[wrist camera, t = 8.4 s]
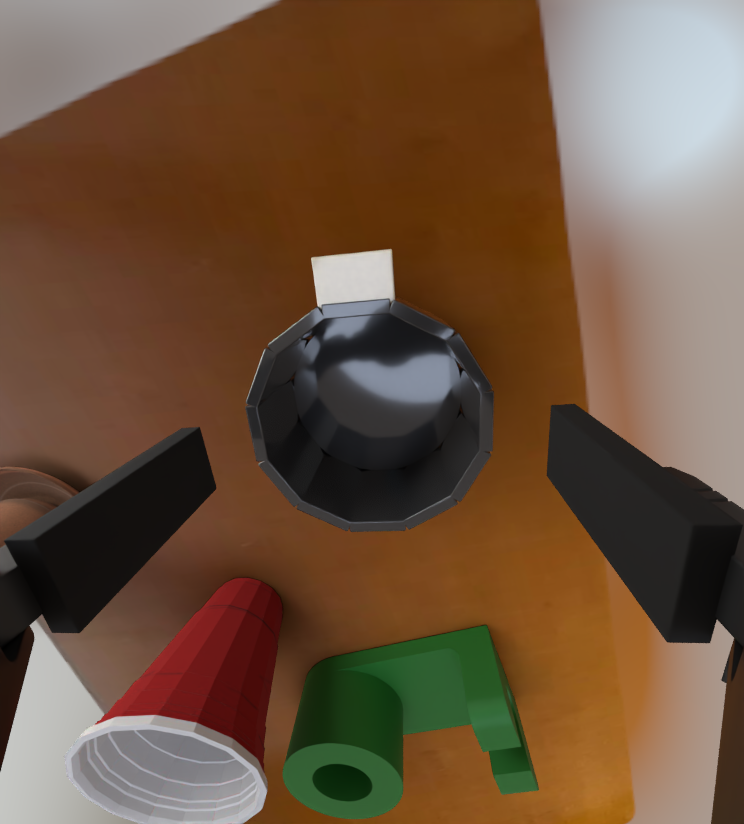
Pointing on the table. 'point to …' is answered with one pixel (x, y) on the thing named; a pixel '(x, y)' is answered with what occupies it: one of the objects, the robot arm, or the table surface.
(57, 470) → the table surface
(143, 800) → the plastic cup
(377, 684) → the green bracket
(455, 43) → the table surface
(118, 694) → the table surface
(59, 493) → the cup and saucer
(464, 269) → the table surface
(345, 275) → the cooking pot
